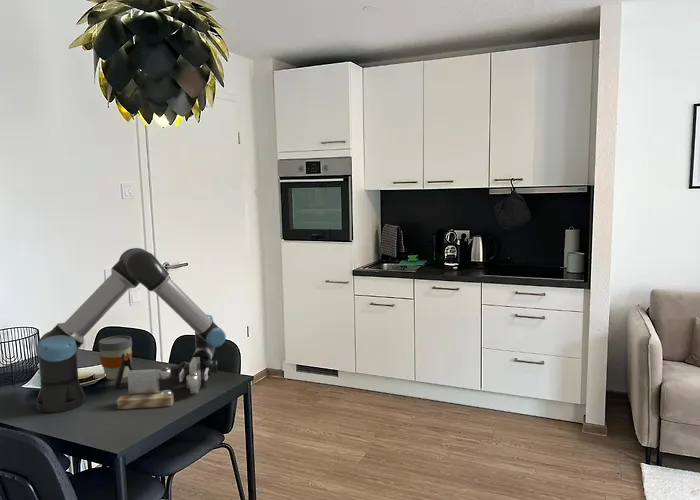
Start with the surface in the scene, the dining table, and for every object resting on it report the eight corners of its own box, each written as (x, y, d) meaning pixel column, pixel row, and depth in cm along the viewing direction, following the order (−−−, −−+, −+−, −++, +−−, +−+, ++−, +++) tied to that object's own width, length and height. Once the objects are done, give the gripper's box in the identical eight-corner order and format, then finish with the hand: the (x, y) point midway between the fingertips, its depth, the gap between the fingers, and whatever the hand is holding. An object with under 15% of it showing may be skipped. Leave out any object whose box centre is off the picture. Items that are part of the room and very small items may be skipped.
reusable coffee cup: (96, 375, 220) (93, 339, 218) (127, 368, 228) (125, 333, 226) (106, 383, 210) (104, 346, 209) (138, 375, 219) (136, 339, 217)
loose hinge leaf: (186, 398, 195) (185, 368, 193) (192, 385, 208) (191, 357, 207) (197, 397, 195) (196, 368, 194) (202, 384, 209) (201, 356, 207)
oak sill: (117, 409, 185) (116, 400, 185) (121, 404, 190) (120, 395, 189) (171, 406, 188) (171, 397, 187) (173, 401, 192) (173, 393, 192)
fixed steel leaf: (128, 403, 190) (126, 371, 189) (131, 399, 194) (129, 367, 193) (170, 401, 192) (169, 369, 191) (173, 396, 196) (171, 365, 195)
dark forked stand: (139, 381, 213) (137, 351, 211) (140, 386, 207) (138, 355, 206) (114, 384, 209) (112, 354, 208) (114, 389, 204) (112, 358, 202)
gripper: (228, 366, 222) (222, 386, 200) (175, 368, 219) (163, 389, 197) (227, 348, 221) (221, 366, 199) (174, 350, 219) (162, 369, 196)
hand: (192, 377), depth 198 cm, fingers open, 8 cm apart
